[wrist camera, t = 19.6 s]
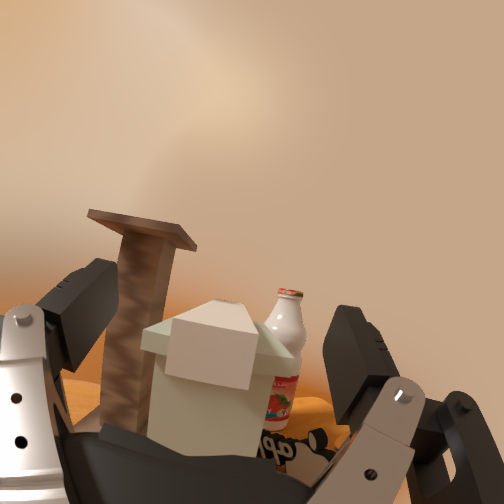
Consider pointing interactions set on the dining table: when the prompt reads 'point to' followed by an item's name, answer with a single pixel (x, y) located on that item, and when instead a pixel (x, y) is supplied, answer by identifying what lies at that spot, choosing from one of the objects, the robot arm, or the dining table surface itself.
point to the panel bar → (213, 345)
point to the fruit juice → (293, 339)
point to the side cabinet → (212, 400)
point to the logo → (298, 453)
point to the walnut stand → (134, 319)
